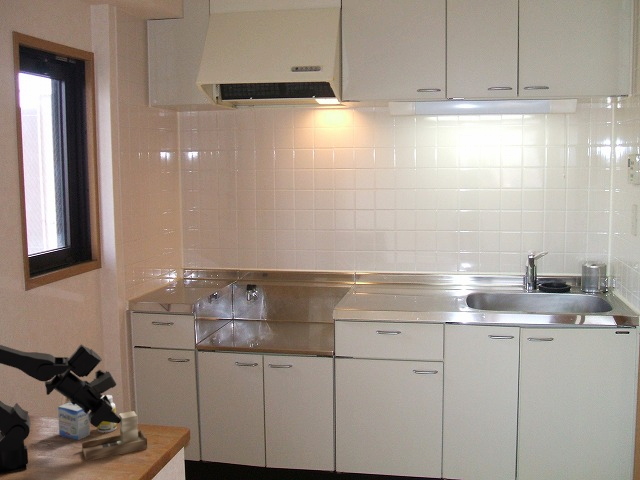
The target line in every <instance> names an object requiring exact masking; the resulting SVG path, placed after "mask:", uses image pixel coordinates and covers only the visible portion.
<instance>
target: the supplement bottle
mask: <svg viewBox="0 0 640 480" xmlns="http://www.w3.org/2000/svg"><path fill="white" fill-rule="evenodd" d="M105 395H106V396H107V398H108V400H109V401H110V404H111V406H112V408H113V409H112V410H113V411H114V412H115V413H116V414H117V411H116V409H117V407H116V404H115V402H113V395H112V394H105ZM105 395H103V394H102V397H101V398H103V397H104V396H105ZM117 424H118V423H112V422H105V421H102V422H101V423H100V425H99V426H98V427H96V428H97V431H98V432H99V431H100V432H99V433H104V432H105V433H111V432H114V431H115V430H116V429H117Z"/></svg>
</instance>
